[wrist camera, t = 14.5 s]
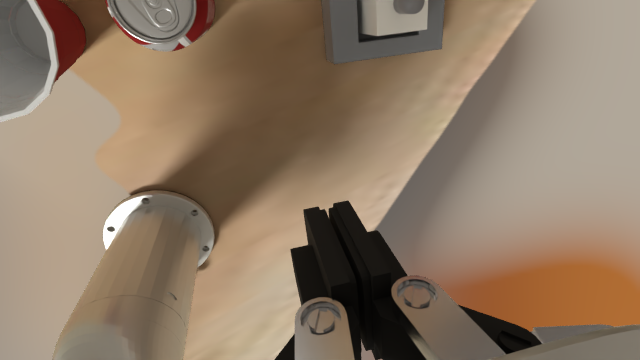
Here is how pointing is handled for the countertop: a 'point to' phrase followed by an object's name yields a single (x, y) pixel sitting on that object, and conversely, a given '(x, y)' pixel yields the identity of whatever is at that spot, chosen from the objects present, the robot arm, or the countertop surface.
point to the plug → (391, 16)
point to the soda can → (163, 21)
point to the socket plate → (356, 46)
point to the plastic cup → (35, 51)
